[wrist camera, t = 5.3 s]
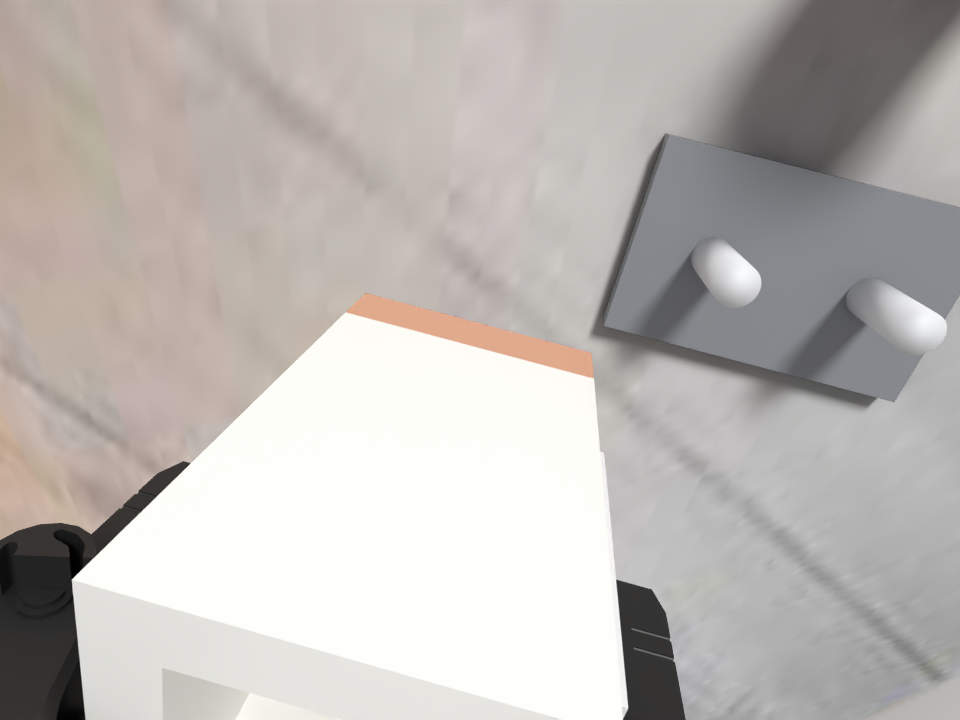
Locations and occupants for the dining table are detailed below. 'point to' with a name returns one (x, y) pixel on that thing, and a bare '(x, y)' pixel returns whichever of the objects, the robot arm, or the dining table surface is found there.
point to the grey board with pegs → (788, 269)
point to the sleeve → (373, 543)
